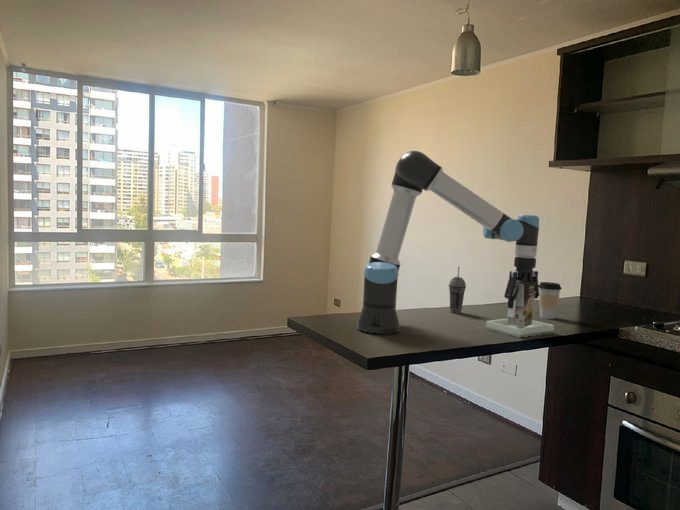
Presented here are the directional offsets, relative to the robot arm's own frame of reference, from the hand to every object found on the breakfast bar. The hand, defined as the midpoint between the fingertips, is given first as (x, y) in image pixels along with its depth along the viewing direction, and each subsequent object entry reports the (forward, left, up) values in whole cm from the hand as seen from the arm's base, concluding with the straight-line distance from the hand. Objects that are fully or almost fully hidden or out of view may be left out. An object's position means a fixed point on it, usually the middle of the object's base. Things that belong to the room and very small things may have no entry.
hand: (520, 315), depth 192 cm
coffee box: (0, 0, -3) cm, 3 cm away
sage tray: (0, 0, -6) cm, 6 cm away
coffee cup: (+35, +12, -6) cm, 38 cm away
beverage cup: (+3, +35, -6) cm, 36 cm away
